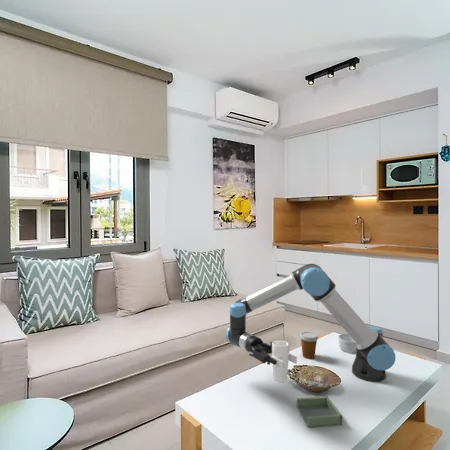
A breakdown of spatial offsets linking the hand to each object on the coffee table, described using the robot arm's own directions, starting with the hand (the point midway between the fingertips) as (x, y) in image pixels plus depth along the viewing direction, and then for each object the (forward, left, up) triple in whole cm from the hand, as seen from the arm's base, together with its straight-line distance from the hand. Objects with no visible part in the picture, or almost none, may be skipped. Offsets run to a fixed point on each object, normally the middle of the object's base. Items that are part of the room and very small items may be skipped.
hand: (289, 362), depth 131 cm
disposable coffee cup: (-26, -47, -20) cm, 57 cm away
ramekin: (-53, -53, -20) cm, 78 cm away
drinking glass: (+2, -4, -9) cm, 10 cm away
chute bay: (-11, +4, -20) cm, 23 cm away
